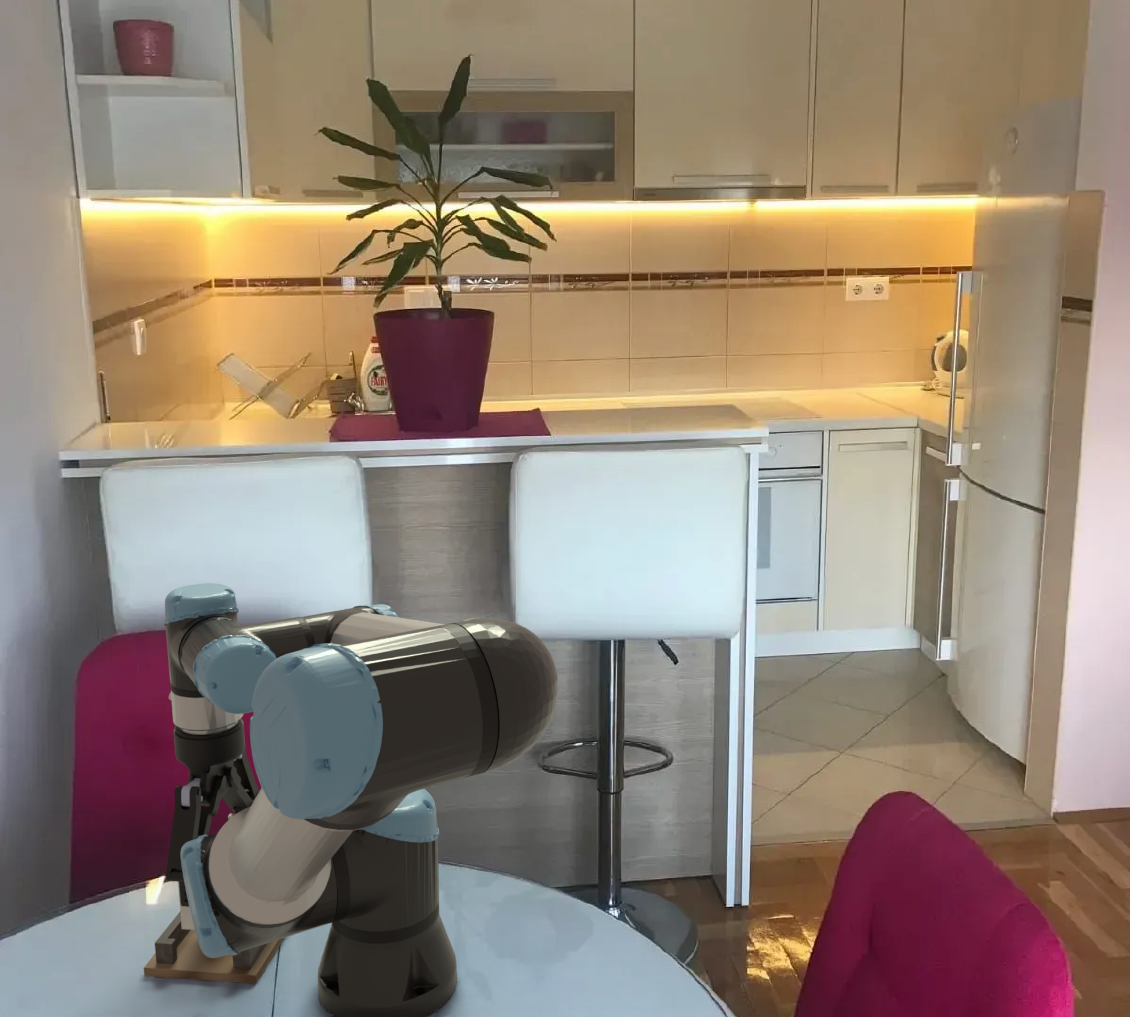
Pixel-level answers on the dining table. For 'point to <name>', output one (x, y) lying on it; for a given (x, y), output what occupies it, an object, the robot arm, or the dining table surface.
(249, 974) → the socket
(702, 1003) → the dining table surface
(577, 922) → the dining table surface
